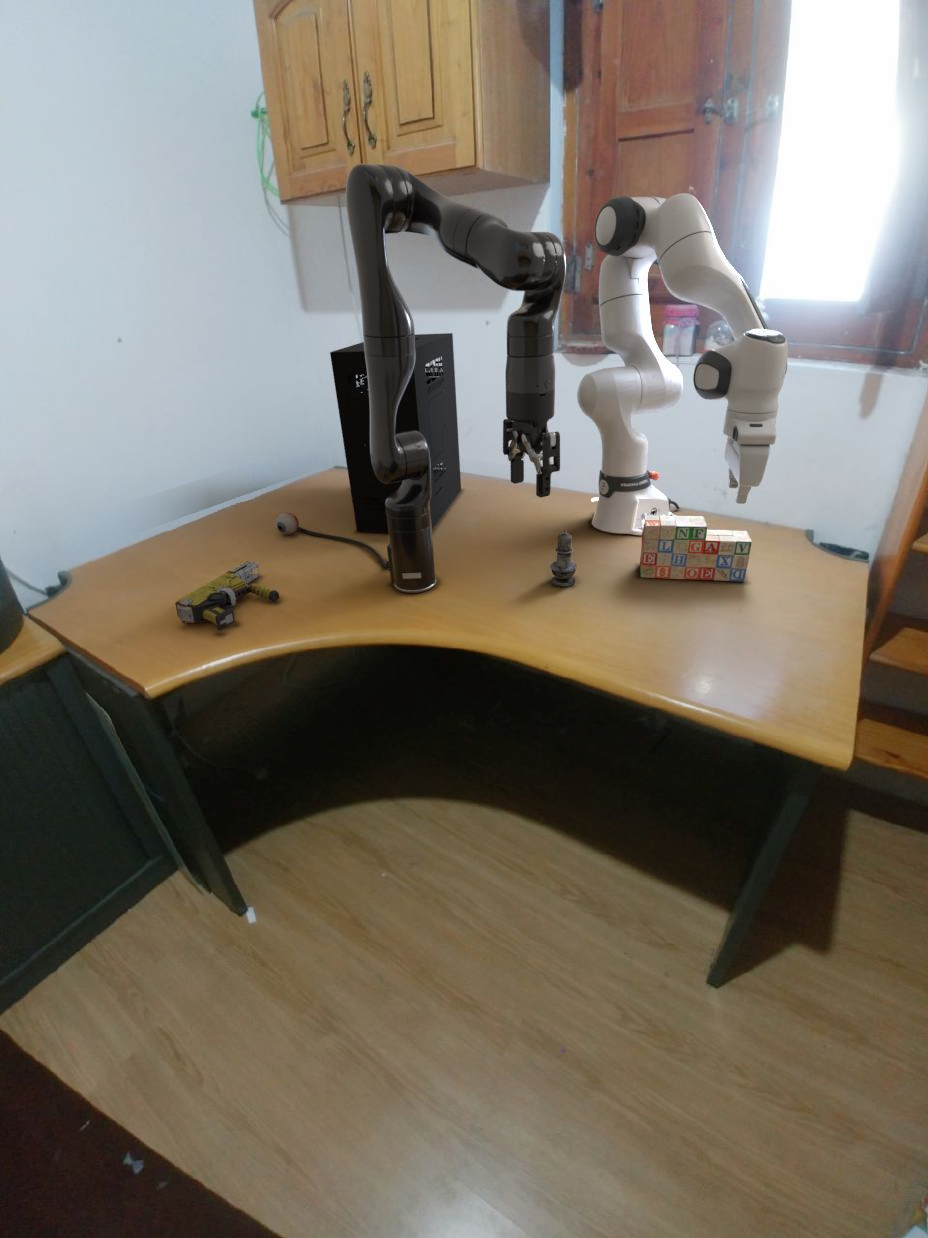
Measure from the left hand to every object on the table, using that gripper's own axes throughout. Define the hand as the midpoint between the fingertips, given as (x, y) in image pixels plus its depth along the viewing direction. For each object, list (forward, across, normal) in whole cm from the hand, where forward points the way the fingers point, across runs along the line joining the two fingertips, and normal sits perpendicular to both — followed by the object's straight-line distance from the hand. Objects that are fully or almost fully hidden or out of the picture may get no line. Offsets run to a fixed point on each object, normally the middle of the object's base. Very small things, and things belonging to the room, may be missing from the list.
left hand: (529, 489), depth 100 cm
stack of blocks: (+28, -4, +43) cm, 52 cm away
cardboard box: (+28, -77, +5) cm, 82 cm away
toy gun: (+28, -41, -48) cm, 69 cm away
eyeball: (+28, -77, -31) cm, 87 cm away
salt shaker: (+28, -15, +17) cm, 36 cm away
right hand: (+10, 0, +48) cm, 49 cm away
